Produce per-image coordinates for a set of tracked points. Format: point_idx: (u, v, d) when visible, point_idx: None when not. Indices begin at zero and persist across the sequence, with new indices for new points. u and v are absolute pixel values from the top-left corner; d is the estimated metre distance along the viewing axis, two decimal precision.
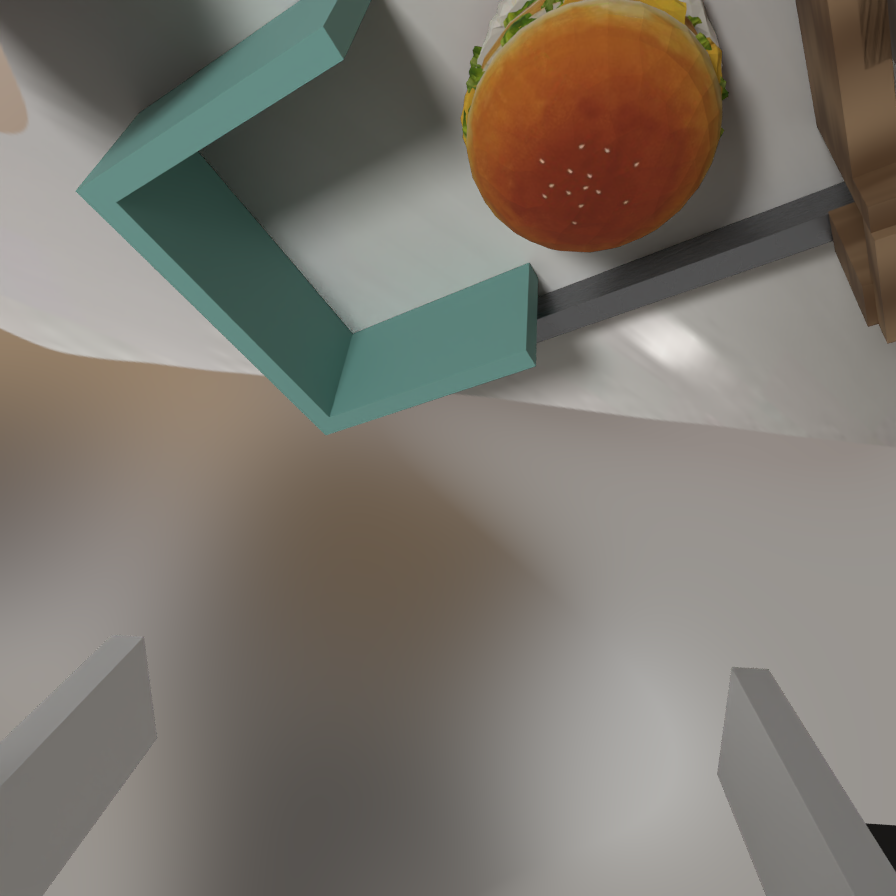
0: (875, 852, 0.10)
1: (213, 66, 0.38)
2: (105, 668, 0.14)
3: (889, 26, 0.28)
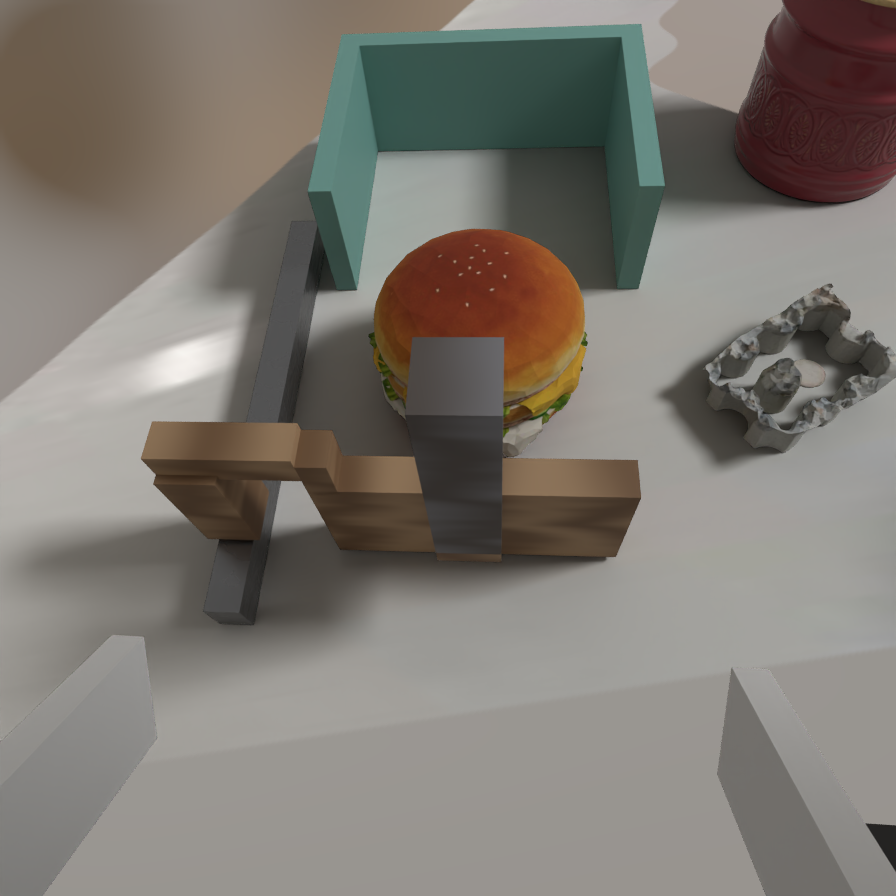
0: (875, 852, 0.10)
1: None
2: (105, 668, 0.14)
3: None
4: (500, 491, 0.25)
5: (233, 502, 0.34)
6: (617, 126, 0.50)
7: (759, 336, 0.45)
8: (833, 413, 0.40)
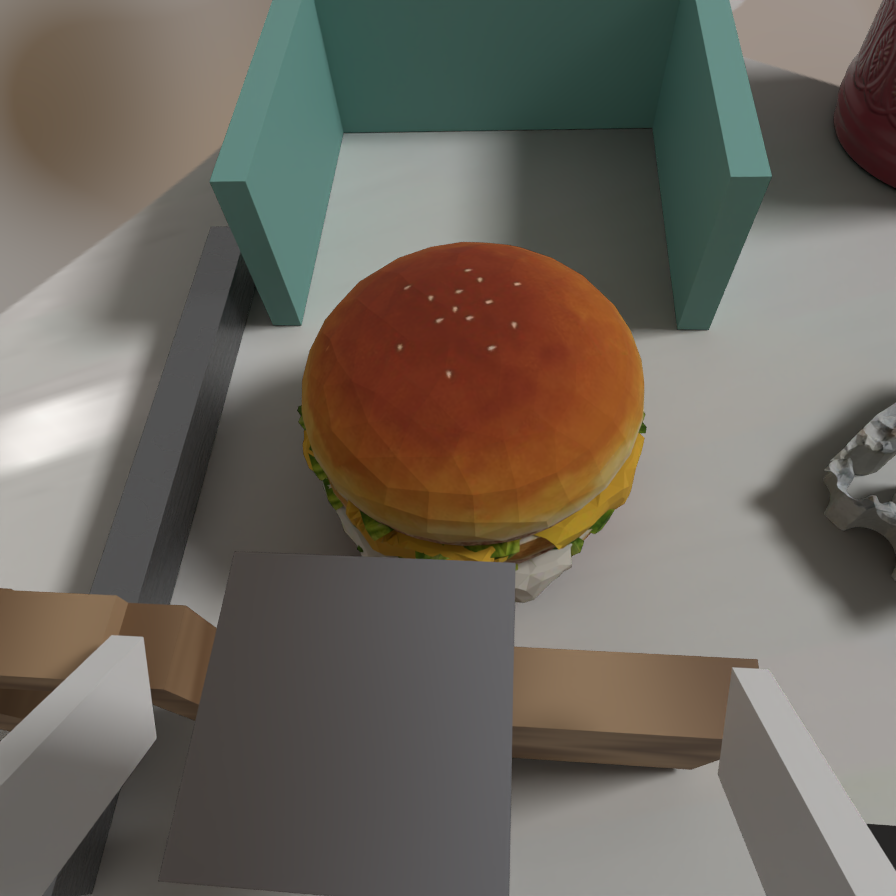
0: (876, 853, 0.10)
1: None
2: (104, 668, 0.14)
3: None
4: None
5: (28, 710, 0.19)
6: (678, 94, 0.35)
7: None
8: None
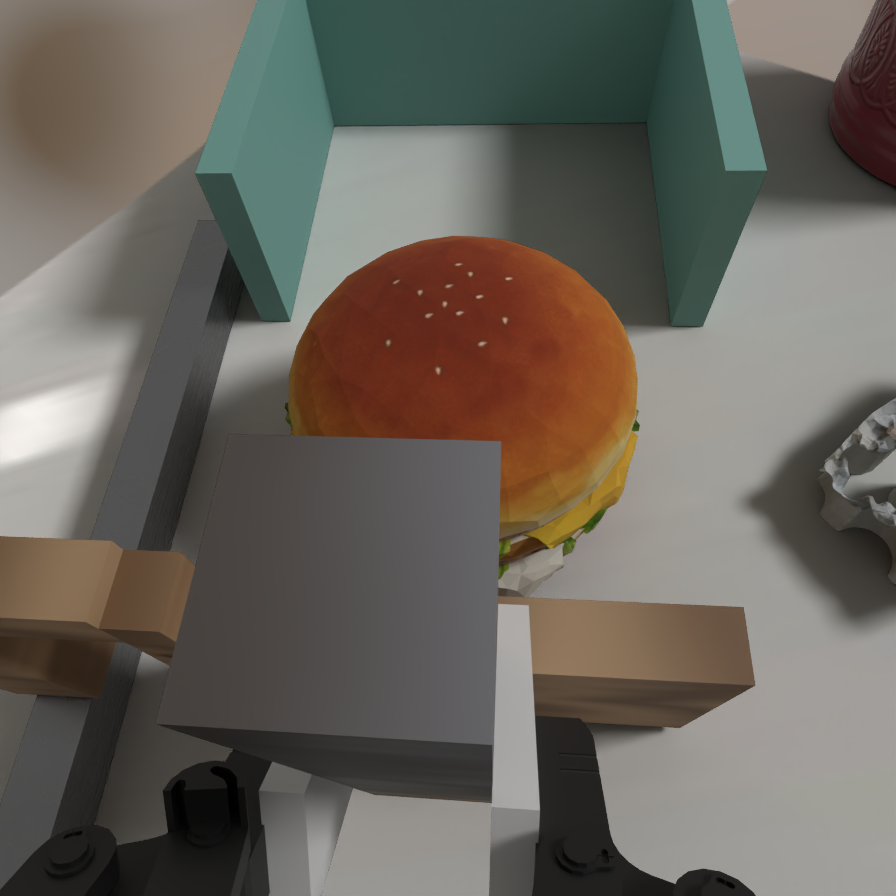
0: (528, 728, 0.12)
1: None
2: None
3: None
4: (488, 783, 0.10)
5: (23, 662, 0.20)
6: (673, 88, 0.34)
7: None
8: None
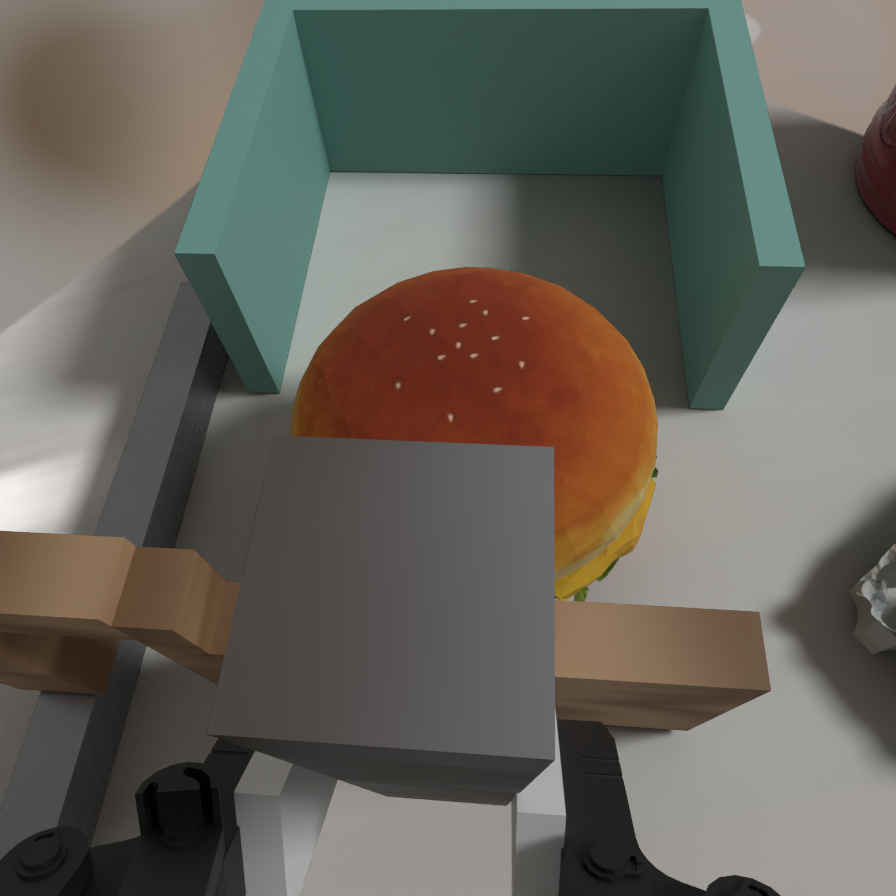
0: None
1: None
2: None
3: None
4: (518, 790, 0.10)
5: (30, 658, 0.19)
6: (694, 150, 0.32)
7: None
8: None
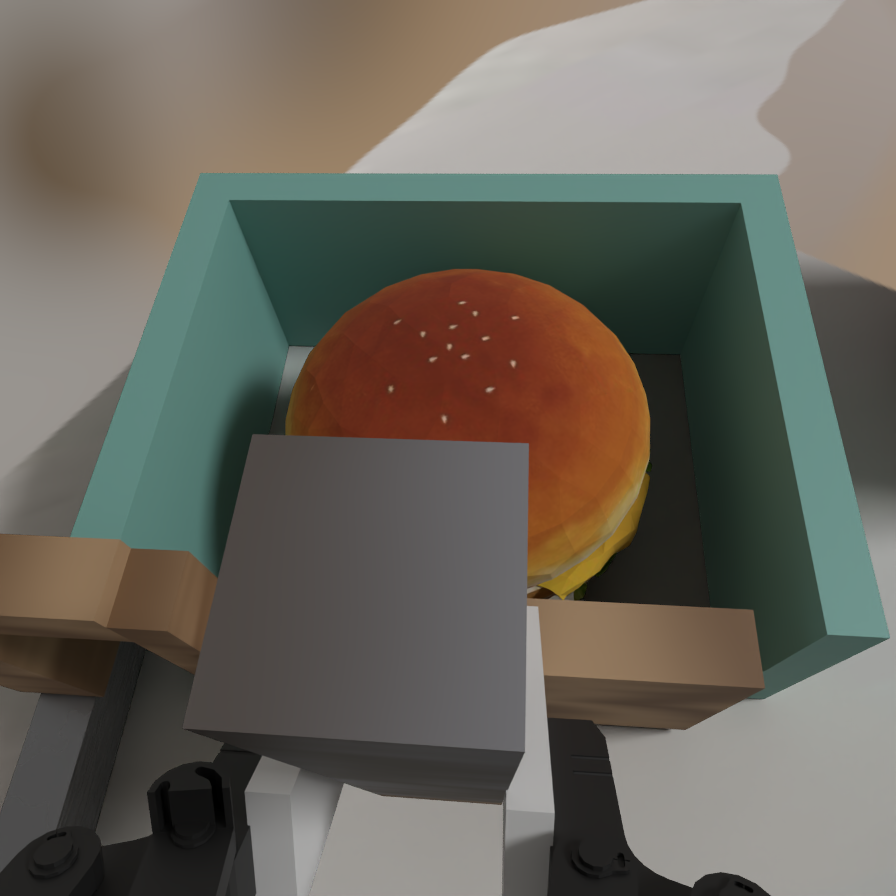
0: (541, 730, 0.12)
1: None
2: None
3: None
4: (505, 787, 0.10)
5: (28, 660, 0.19)
6: (724, 368, 0.26)
7: None
8: None
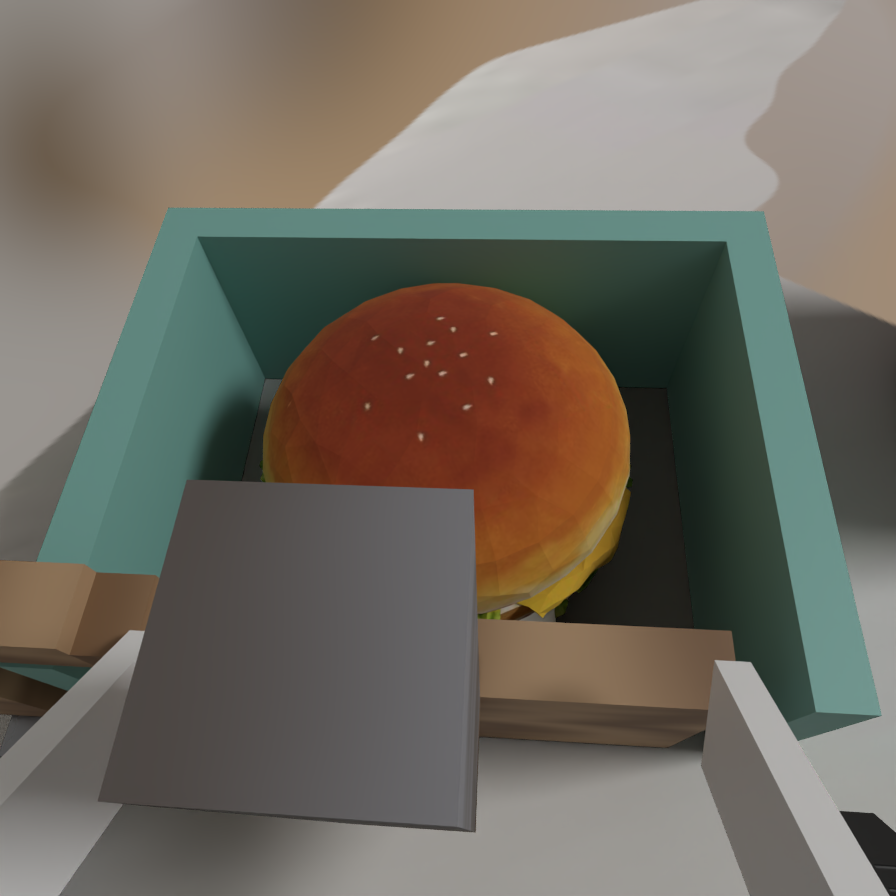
0: (847, 838, 0.10)
1: None
2: (124, 662, 0.14)
3: None
4: None
5: None
6: (710, 410, 0.25)
7: None
8: None
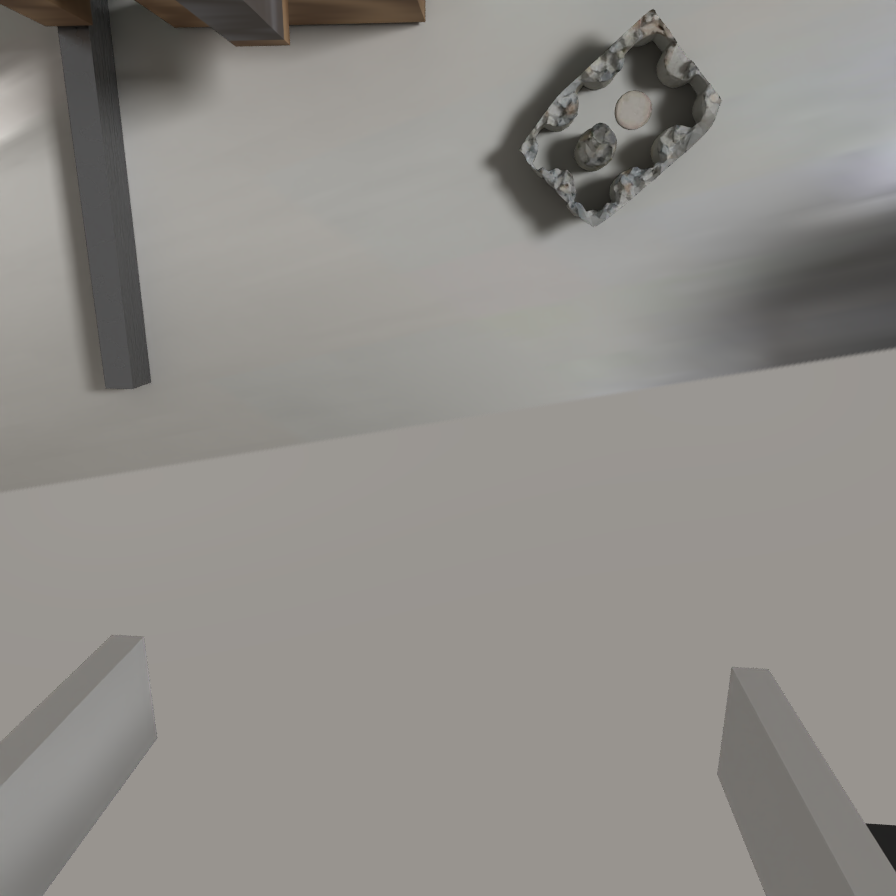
0: (875, 852, 0.10)
1: None
2: (105, 668, 0.14)
3: None
4: None
5: None
6: None
7: None
8: (640, 188, 0.42)
